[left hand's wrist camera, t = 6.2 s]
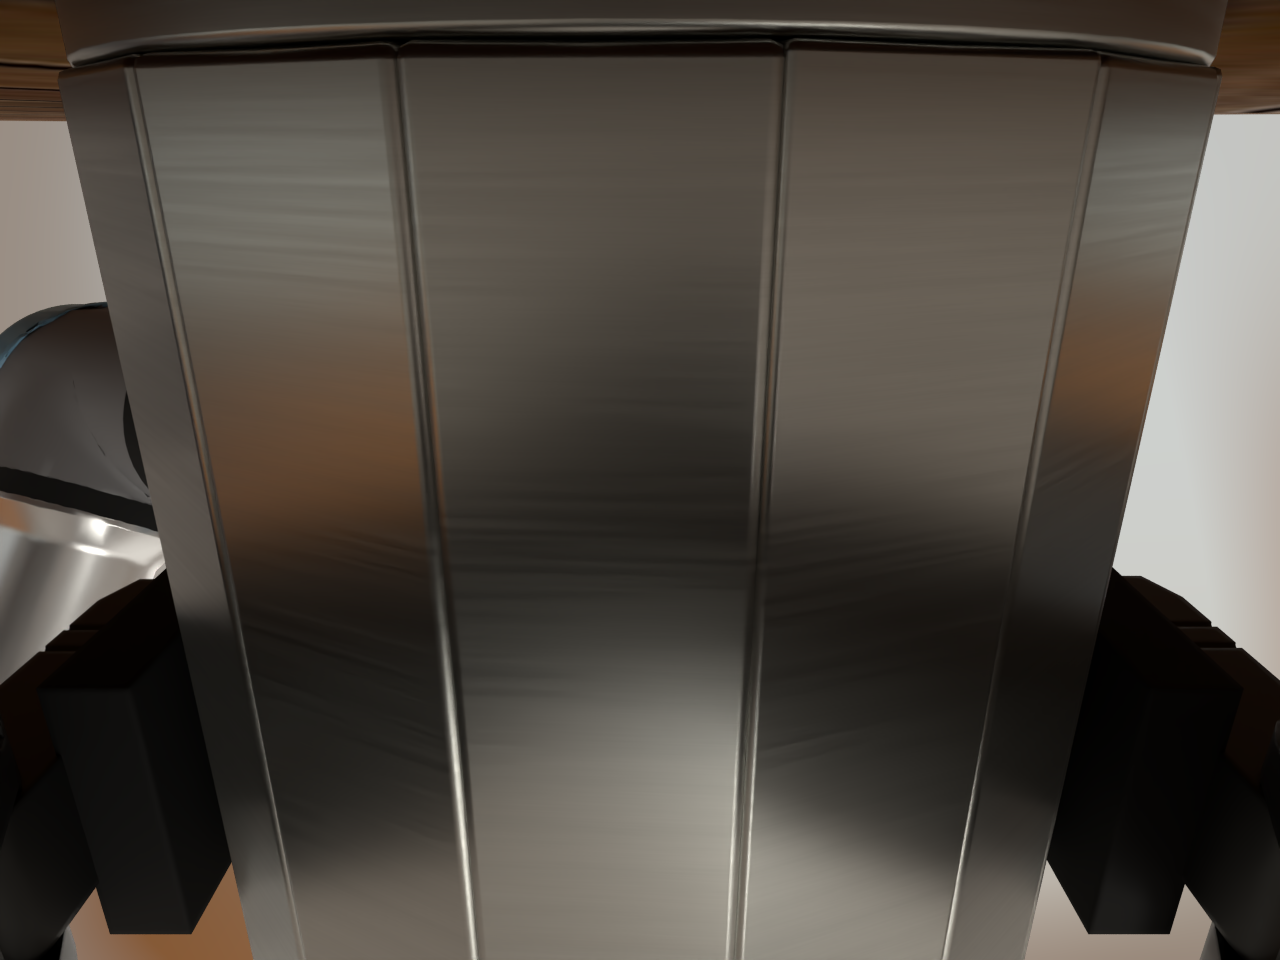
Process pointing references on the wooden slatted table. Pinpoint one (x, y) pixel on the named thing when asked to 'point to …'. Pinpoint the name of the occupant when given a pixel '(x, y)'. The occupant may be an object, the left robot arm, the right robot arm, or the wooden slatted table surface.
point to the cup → (639, 445)
